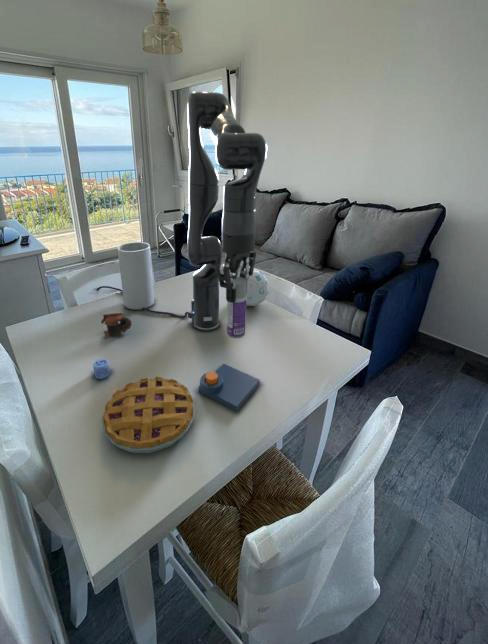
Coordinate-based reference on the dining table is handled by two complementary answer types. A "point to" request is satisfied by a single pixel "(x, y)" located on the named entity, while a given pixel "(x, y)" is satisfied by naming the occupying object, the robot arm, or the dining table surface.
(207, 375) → the button
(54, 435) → the dining table surface
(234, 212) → the robot arm
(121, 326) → the pottery mug
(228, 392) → the scale
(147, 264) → the cylinder vase
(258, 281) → the puzzle ball
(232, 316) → the container
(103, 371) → the decorative dice
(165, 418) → the pie
